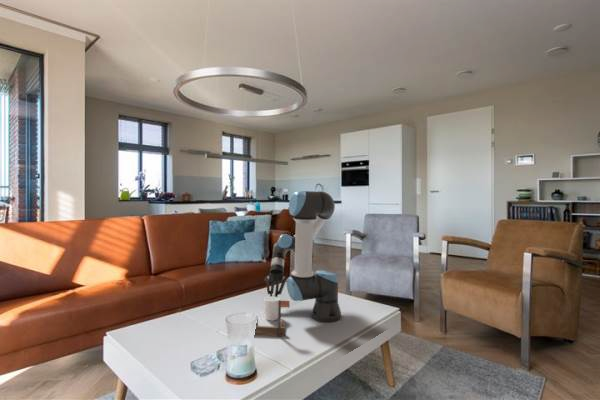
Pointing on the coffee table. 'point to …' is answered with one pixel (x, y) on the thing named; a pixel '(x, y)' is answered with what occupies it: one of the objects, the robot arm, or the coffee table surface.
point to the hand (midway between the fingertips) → (272, 305)
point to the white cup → (271, 308)
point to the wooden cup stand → (273, 330)
